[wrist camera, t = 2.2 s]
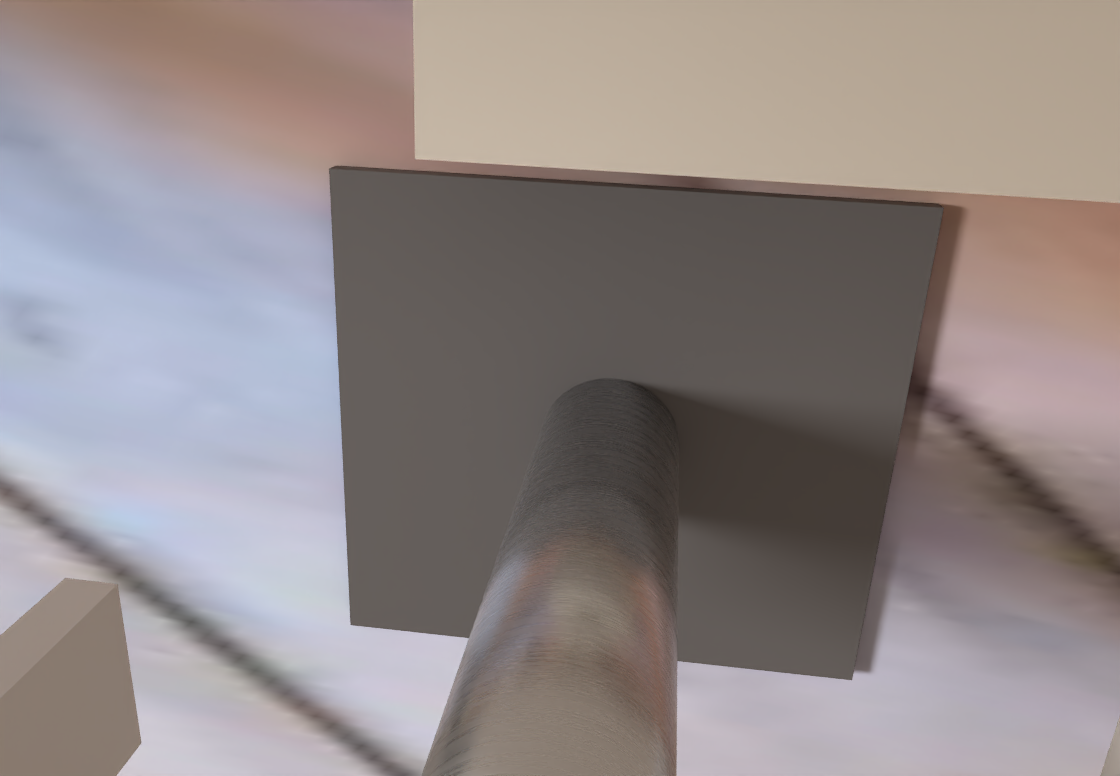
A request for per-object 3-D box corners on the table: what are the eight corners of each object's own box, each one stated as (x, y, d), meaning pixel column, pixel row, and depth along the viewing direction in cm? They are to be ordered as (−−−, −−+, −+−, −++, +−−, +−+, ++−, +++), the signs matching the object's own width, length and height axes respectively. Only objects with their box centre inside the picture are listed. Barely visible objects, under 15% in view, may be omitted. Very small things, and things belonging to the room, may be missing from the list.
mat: (355, 615, 23) (350, 624, 23) (336, 165, 19) (329, 168, 19) (848, 669, 22) (852, 680, 22) (938, 204, 18) (943, 207, 18)
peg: (538, 497, 21) (349, 1127, 9) (543, 372, 20) (335, 903, 8) (672, 510, 21) (659, 1179, 9) (685, 384, 20) (689, 954, 8)
